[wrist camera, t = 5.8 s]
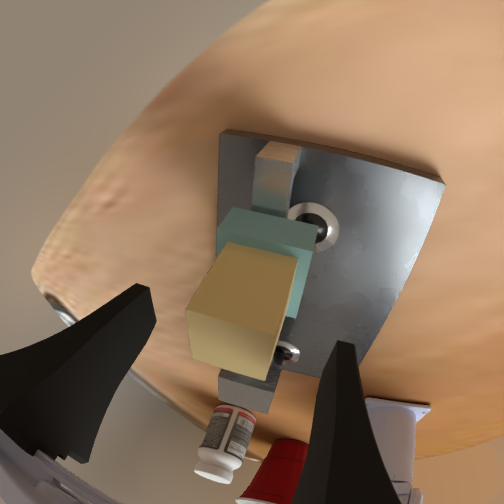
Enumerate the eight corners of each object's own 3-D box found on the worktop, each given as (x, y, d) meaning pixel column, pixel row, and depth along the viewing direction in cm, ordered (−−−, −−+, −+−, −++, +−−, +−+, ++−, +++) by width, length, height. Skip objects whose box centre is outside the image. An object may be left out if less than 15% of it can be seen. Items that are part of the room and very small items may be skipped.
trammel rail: (281, 368, 26) (266, 416, 22) (237, 356, 26) (218, 402, 23) (333, 153, 14) (325, 193, 10) (254, 138, 15) (217, 172, 11)
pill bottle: (217, 415, 39) (192, 473, 32) (214, 398, 36) (185, 464, 28) (256, 426, 38) (234, 487, 30) (258, 411, 35) (233, 480, 27)
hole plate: (348, 374, 25) (346, 384, 24) (221, 342, 28) (217, 351, 27) (441, 177, 14) (446, 185, 13) (226, 129, 16) (218, 134, 15)
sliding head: (310, 261, 18) (275, 390, 11) (244, 245, 19) (181, 360, 12) (324, 200, 15) (294, 328, 9) (249, 184, 16) (170, 294, 10)
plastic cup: (309, 430, 35) (286, 512, 25) (337, 455, 39) (321, 522, 29) (244, 430, 40) (217, 499, 31) (278, 454, 44) (259, 514, 35)
